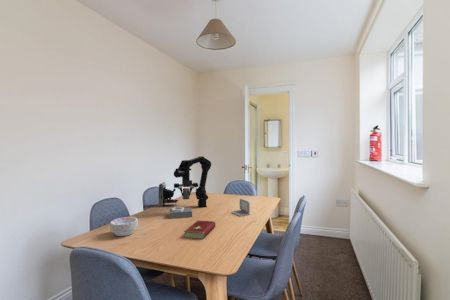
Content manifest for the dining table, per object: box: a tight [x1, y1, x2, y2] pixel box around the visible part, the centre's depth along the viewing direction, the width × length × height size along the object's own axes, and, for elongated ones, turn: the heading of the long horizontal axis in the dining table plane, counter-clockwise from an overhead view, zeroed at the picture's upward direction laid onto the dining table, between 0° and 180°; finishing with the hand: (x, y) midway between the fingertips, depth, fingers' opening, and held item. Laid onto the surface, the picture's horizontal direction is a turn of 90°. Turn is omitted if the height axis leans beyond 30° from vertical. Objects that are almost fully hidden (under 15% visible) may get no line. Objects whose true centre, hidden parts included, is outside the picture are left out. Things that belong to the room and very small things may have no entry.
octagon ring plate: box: [169, 206, 193, 220], centre depth 184 cm, size 16×12×6 cm
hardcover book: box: [183, 219, 217, 240], centre depth 149 cm, size 12×21×4 cm, turn 165°
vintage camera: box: [158, 181, 179, 207], centre depth 217 cm, size 10×16×20 cm, turn 89°
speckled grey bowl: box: [109, 216, 139, 237], centre depth 148 cm, size 15×15×8 cm
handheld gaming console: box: [231, 198, 251, 217], centre depth 187 cm, size 13×9×10 cm
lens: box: [182, 187, 190, 200], centre depth 195 cm, size 5×5×8 cm
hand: (186, 196), depth 195 cm, fingers closed on lens, 5 cm apart
